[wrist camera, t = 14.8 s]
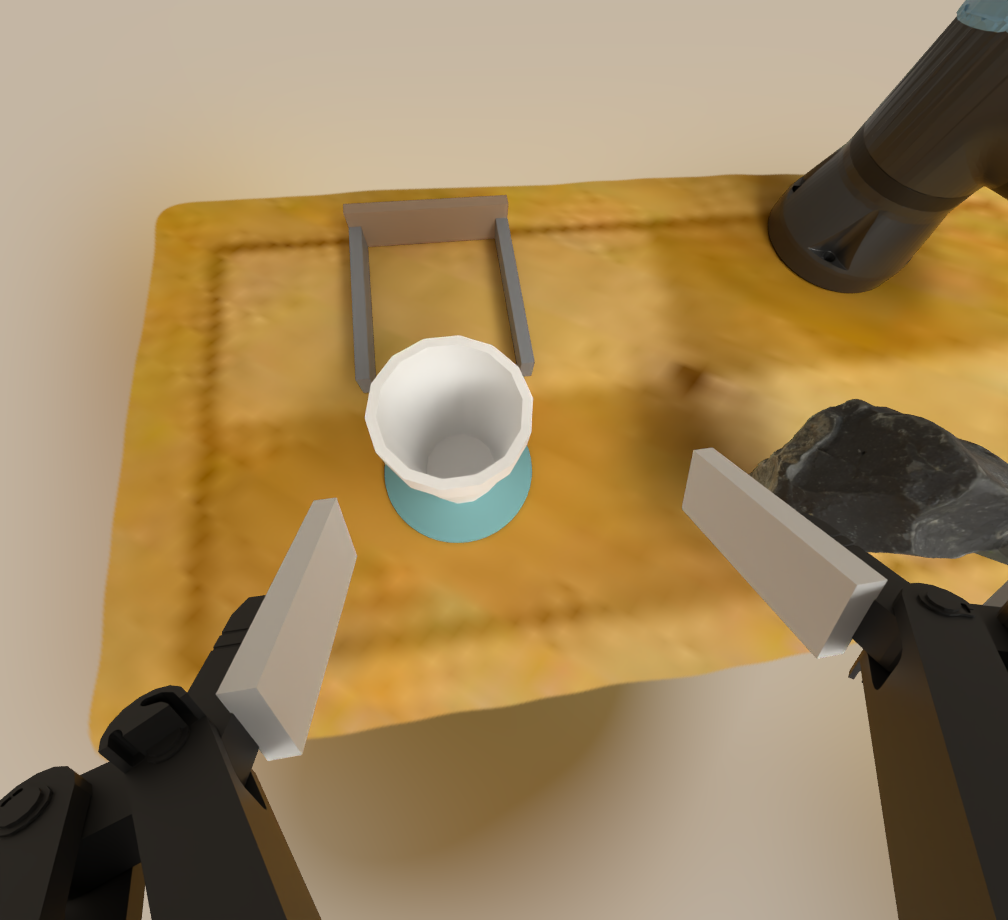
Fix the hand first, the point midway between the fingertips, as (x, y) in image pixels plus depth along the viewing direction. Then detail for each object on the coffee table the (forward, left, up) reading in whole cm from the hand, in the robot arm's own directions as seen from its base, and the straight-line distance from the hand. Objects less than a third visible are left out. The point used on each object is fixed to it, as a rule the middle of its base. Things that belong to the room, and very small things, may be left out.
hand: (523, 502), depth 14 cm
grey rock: (-25, +3, -20) cm, 32 cm away
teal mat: (+3, -7, -19) cm, 21 cm away
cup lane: (+3, -24, -19) cm, 31 cm away
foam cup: (+2, -7, -19) cm, 21 cm away
